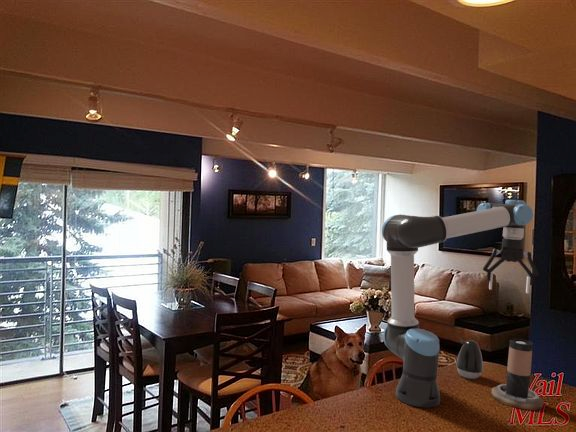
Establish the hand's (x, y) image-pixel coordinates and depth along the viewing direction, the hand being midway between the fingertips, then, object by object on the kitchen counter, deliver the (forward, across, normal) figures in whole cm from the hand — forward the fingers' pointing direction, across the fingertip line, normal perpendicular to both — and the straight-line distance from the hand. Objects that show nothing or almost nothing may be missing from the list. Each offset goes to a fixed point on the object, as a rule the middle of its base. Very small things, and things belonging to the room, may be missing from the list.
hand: (508, 291), depth 185 cm
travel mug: (+36, +3, -17) cm, 40 cm away
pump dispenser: (+37, -13, 0) cm, 39 cm away
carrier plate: (+37, +3, -17) cm, 41 cm away
